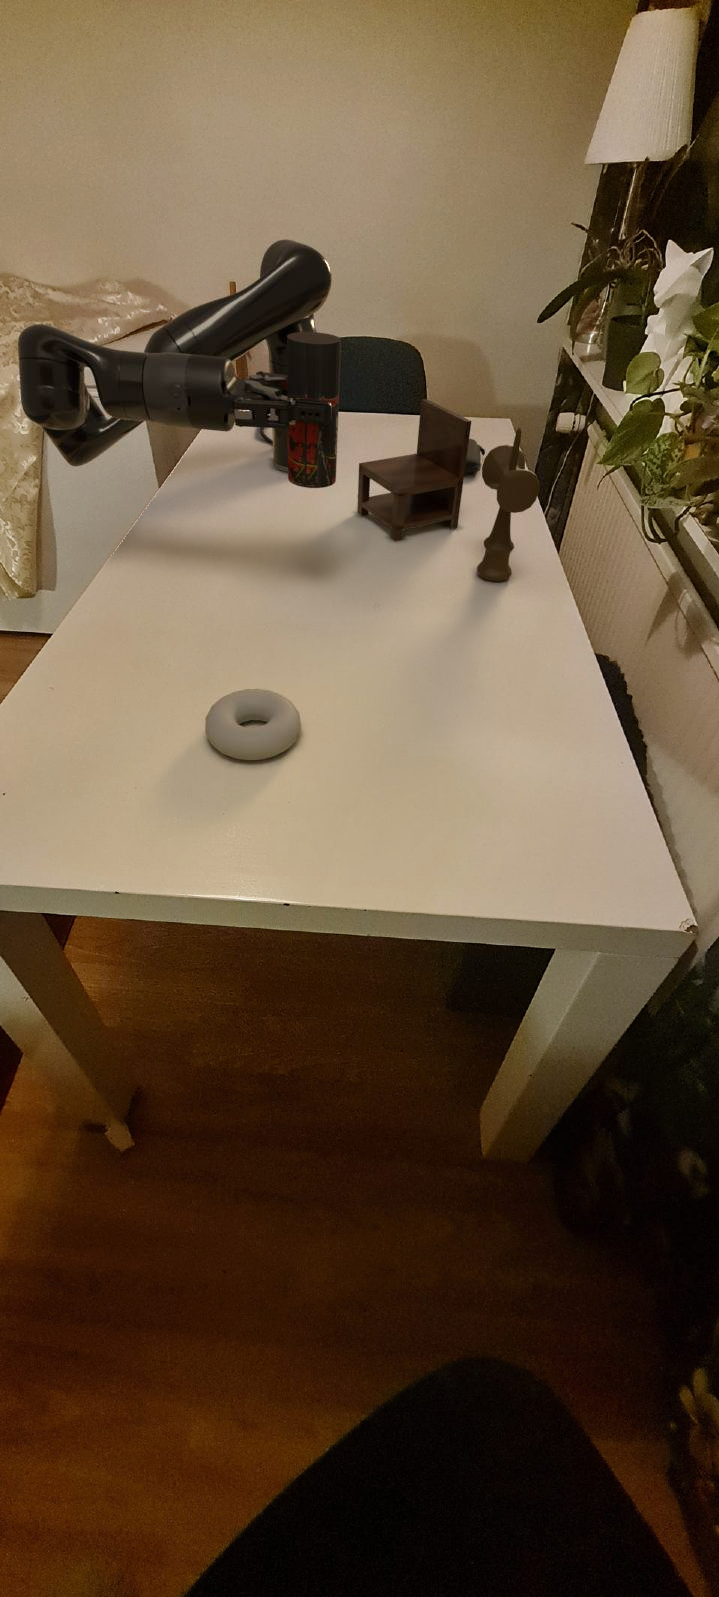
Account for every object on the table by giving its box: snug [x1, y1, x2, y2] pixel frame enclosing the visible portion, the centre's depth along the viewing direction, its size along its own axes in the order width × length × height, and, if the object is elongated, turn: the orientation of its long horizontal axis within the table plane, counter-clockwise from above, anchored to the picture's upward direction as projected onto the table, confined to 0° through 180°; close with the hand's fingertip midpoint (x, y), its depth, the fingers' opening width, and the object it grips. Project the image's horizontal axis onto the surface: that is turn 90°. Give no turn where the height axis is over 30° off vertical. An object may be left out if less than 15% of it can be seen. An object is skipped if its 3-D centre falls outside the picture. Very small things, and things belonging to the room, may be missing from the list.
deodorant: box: [287, 331, 342, 489], centre depth 83 cm, size 6×6×15 cm
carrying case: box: [464, 438, 486, 477], centre depth 135 cm, size 11×3×15 cm
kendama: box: [476, 427, 540, 582], centre depth 97 cm, size 6×10×20 cm, turn 4°
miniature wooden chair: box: [357, 398, 472, 542], centre depth 111 cm, size 12×12×16 cm
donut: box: [204, 688, 302, 761], centre depth 74 cm, size 10×4×10 cm
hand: (333, 405), depth 82 cm, fingers closed on deodorant, 6 cm apart
